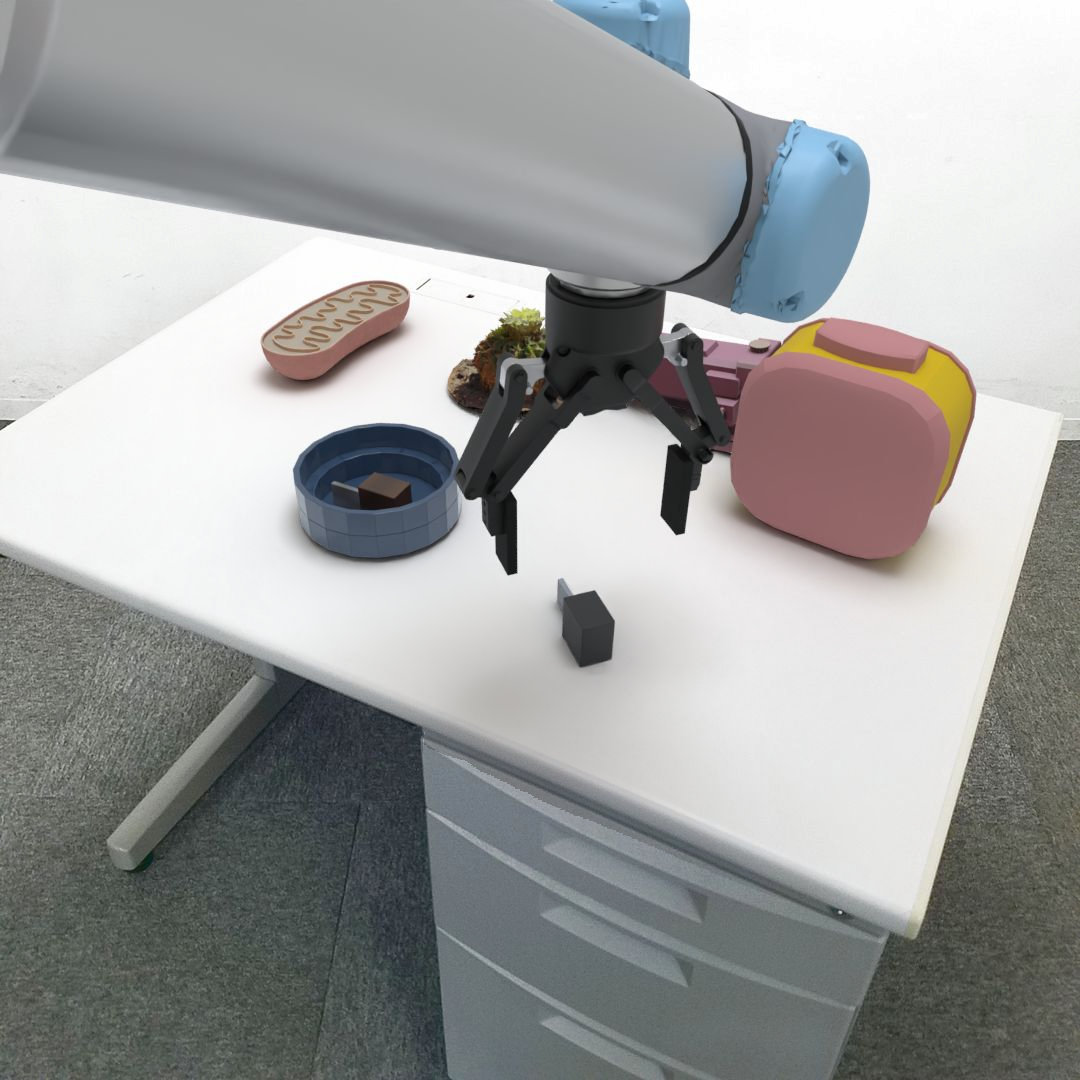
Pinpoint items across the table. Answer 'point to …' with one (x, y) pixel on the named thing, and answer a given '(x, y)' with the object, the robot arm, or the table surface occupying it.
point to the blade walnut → (373, 493)
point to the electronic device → (717, 376)
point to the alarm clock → (851, 435)
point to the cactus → (478, 375)
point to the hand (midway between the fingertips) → (591, 543)
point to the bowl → (389, 454)
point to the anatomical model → (334, 327)
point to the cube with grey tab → (586, 625)
